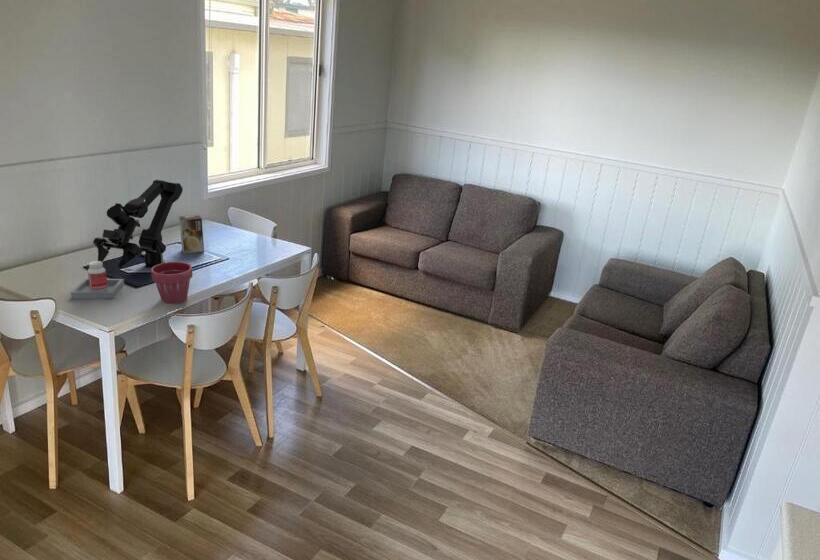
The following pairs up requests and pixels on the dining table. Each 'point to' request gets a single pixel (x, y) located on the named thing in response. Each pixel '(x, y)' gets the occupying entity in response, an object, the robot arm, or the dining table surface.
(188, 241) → the coffee box
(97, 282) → the pill bottle
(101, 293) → the tray
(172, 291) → the plant pot
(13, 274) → the dining table surface
